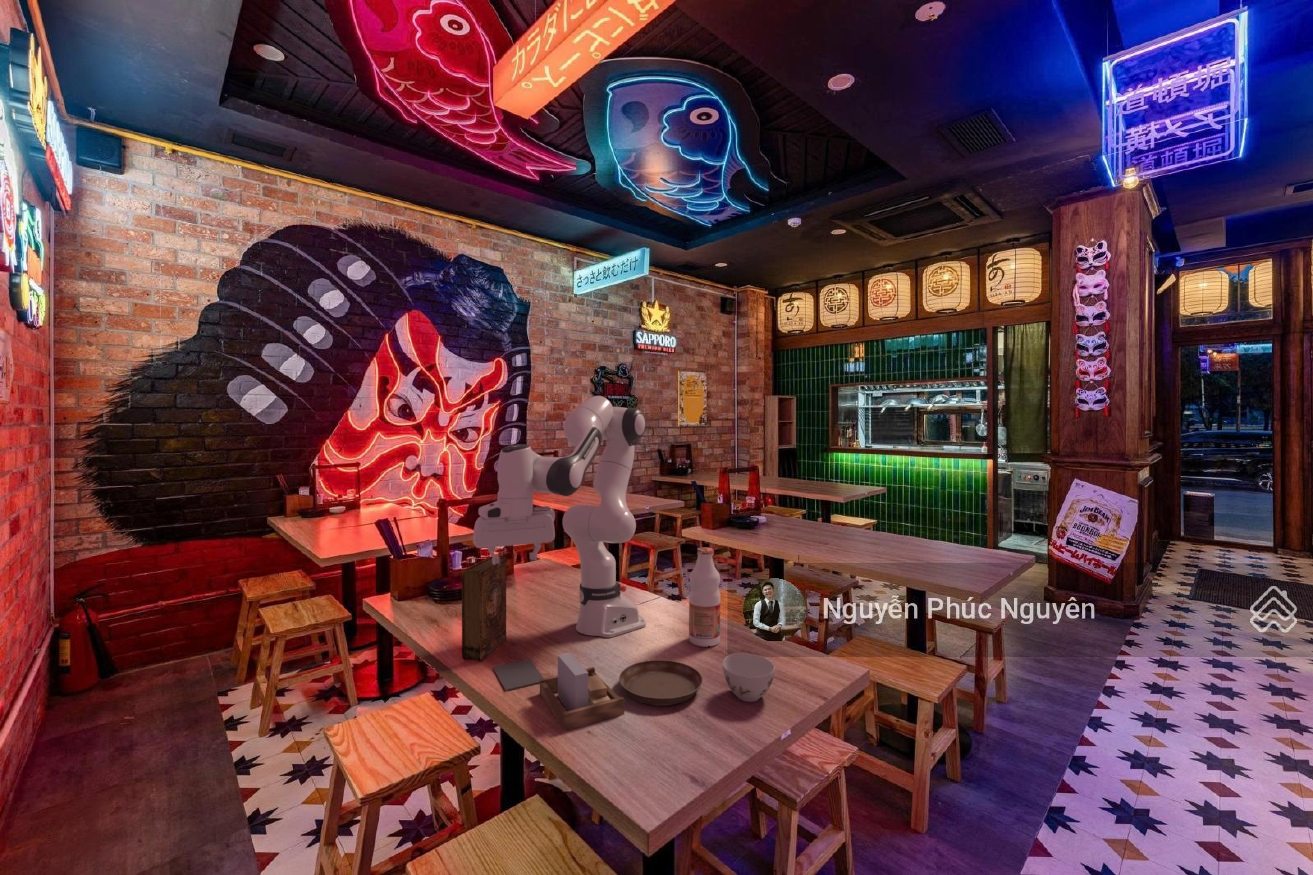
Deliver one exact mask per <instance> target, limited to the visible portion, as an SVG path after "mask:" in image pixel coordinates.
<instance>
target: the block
mask: <svg viewBox="0 0 1313 875" xmlns="http://www.w3.org/2000/svg"><path fill="white" fill-rule="evenodd" d="M585 669H586V668H585V667H584V666H583V665H582V664H581V663H580V662H579V661H578V660H577V659H576V658H575V657H574V655H573V654H572V653H570V652H565V653H561V654H557V675H558V691H557V698H558V699H559V700H560V701H561V702H562V704H563V705H564V706H565V709H567V711H571V710H575V709H578V708H582V707H586V706H589V705H588V672H587V671H586V670H585Z"/></svg>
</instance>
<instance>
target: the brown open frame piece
mask: <svg viewBox="0 0 1313 875" xmlns="http://www.w3.org/2000/svg"><path fill="white" fill-rule="evenodd" d="M584 669H585V670H586V671H587V672H588V677H589V676H594V675H598V674H597V673H596V668H595V667H594V666H592V667H588V668H584ZM543 678H544V679H540V683H539V695H540V696H541V697H542V699H543V701H544V702H545V703H546V705H547V706H548V708H549V709H550V710H551V713H552V714H553V715H554V717H555V718H556V720H557V721H558V723H559V724H560V726H561V727H562V728H563V730H564V731H565V732H566V731H570V730H573V729H575V728H577V729H578V728H580V727H583V726H587V725H591V724H594V723H598V722H600V721H601V722H602V721H605V720H609V719H611V718H615V717H617V716H618V717H619V716H621V715H625V698H624V697H623V696H618V695H617V694H616V693H615V692H614V691H613V689H612V688H611V687H610V686H609V685H608V684H607V683H606V682H605V681H604V680H603V679H602V678H601V677H600V679H601V680H602V681H603V683H604V684H605V686H606V687H607V696H608V697H609V698H610V699H611V700H608V701H604V702H601V703H597V704H593V705H590V706H589V705H588V706H586V707H582V708H578V709H575V710H571V711H569V710H566V708H565V707H564V706H563V705H562V703H561V702H560V701H559V698H558V697H557V696H556V695H555V694H554V693H556V692H557V693H558V674H557V675H553V676H547V677H543Z"/></svg>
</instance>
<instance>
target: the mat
mask: <svg viewBox="0 0 1313 875" xmlns="http://www.w3.org/2000/svg"><path fill="white" fill-rule="evenodd" d="M492 669H493V671H494V674H495V675H496V677H497V678H498V680H499V682H500V684H501V685H502V687H503V689H504V691H505V692H508V691H509V692H510V691H514V690H518V689H522V688H526V687H530V686H535V685H540V679H544V678H545V677H543V675H542V674H541V672H540V671H539V669H538V668H537V667H536V665H535V664H534V663H533V661H532V660H531V659H530V658H528V659H524V660H520V661H513V662H510V663H506V664H500V665H496V666H492Z"/></svg>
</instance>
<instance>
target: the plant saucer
mask: <svg viewBox="0 0 1313 875" xmlns="http://www.w3.org/2000/svg"><path fill="white" fill-rule="evenodd" d="M618 680H619V684H620V686H621V687H622V689H623V690H624V691H625V692H626V693H627V694H628V695H629V697H631V698H633V699H634V700H635V701H638V702H640V703H643V704H645V705H649V706H658V707H659V706H660V707H661V706H672V705H677V704H681V703H683V702H684V703H685V701H688V700H689V699H690V698H692V697H693V696H694V695H695V694H696V693H697V692H698V691H699V690H700V689H701V686H702V684H703V680H704V679H703V676H702V674H701V673H700V672H699V671H698V670H697V668H694V667H693V666H690V665H689V664H686V663H683V662H678V661H674V660H666V659H651V660H644V661H639V662H636V663H634V664H631V665H629V666H627V667H625V668H624V669H623V670H622V671H621V673H620V674H619V677H618Z"/></svg>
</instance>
